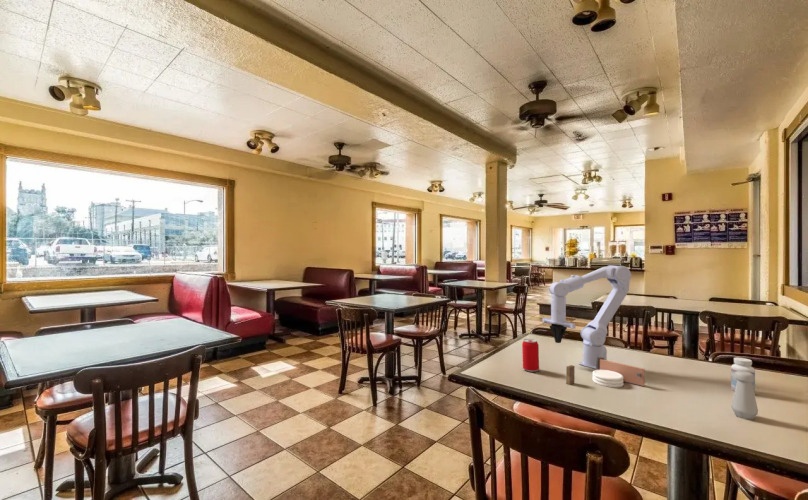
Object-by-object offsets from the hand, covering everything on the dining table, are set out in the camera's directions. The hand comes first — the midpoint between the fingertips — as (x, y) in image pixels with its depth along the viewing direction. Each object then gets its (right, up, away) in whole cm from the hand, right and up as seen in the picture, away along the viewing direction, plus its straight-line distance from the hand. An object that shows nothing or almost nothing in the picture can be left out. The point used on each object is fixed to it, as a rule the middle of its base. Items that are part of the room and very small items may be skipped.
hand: (558, 342), depth 152 cm
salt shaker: (+35, -10, -47) cm, 59 cm away
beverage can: (-14, -9, -7) cm, 19 cm away
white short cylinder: (+10, -10, -20) cm, 25 cm away
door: (+15, -9, -19) cm, 26 cm away
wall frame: (+3, -9, -17) cm, 20 cm away
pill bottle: (+52, -10, -28) cm, 60 cm away
